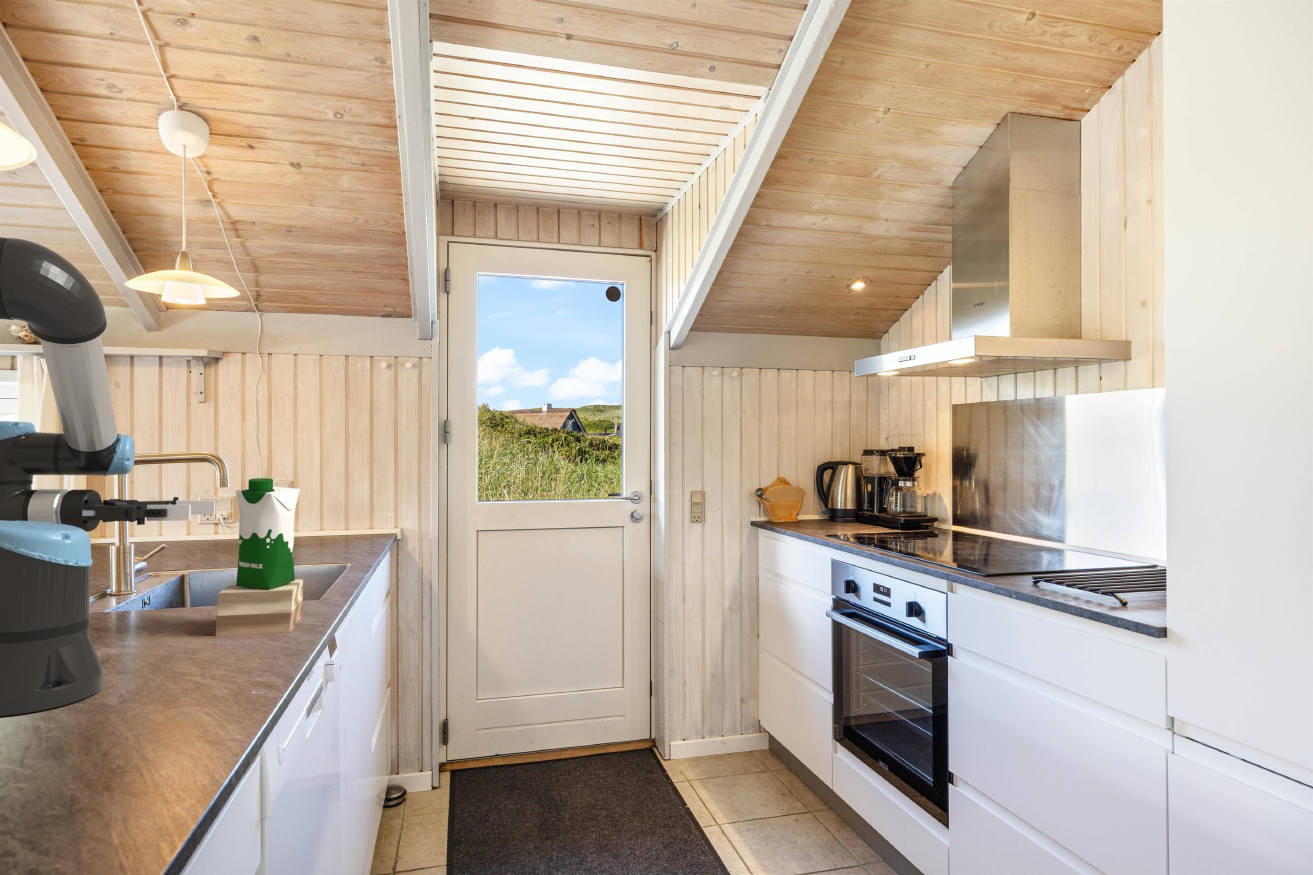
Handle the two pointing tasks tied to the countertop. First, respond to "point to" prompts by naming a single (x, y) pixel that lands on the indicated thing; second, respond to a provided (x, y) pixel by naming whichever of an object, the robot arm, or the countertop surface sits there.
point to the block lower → (258, 623)
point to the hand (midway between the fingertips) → (203, 509)
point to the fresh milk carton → (266, 534)
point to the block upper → (260, 599)
